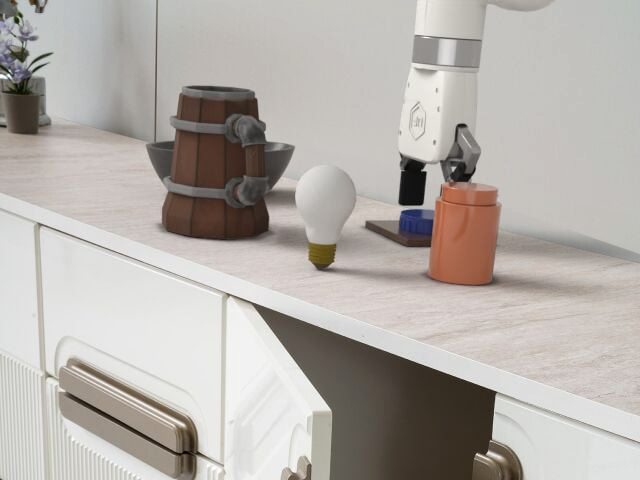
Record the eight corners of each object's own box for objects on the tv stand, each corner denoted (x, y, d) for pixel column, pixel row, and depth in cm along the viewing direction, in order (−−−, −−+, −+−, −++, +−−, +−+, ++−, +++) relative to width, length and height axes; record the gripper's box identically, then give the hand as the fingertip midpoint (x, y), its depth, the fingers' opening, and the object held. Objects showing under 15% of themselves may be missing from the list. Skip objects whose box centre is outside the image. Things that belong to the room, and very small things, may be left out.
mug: (144, 221, 127) (145, 81, 122) (237, 217, 134) (242, 84, 128) (208, 250, 116) (213, 97, 110) (307, 244, 122) (317, 99, 116)
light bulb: (300, 259, 115) (307, 158, 111) (356, 266, 113) (365, 164, 109) (283, 270, 109) (289, 165, 105) (341, 278, 108) (350, 171, 104)
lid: (415, 235, 127) (416, 219, 126) (389, 223, 133) (390, 208, 132) (467, 234, 130) (469, 219, 129) (439, 223, 135) (441, 208, 135)
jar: (471, 269, 116) (482, 181, 113) (504, 284, 111) (516, 192, 107) (416, 270, 114) (425, 180, 110) (447, 285, 108) (458, 191, 105)
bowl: (313, 197, 151) (316, 150, 149) (176, 206, 138) (177, 154, 135) (259, 183, 160) (261, 138, 157) (124, 190, 146) (124, 141, 144)
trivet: (445, 226, 138) (446, 219, 138) (491, 245, 129) (492, 238, 129) (364, 227, 134) (365, 220, 134) (406, 246, 125) (407, 239, 124)
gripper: (381, 49, 130) (369, 200, 136) (455, 59, 115) (437, 227, 122) (438, 52, 132) (423, 199, 139) (517, 63, 118) (496, 227, 125)
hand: (430, 212), depth 130 cm, fingers open, 9 cm apart
